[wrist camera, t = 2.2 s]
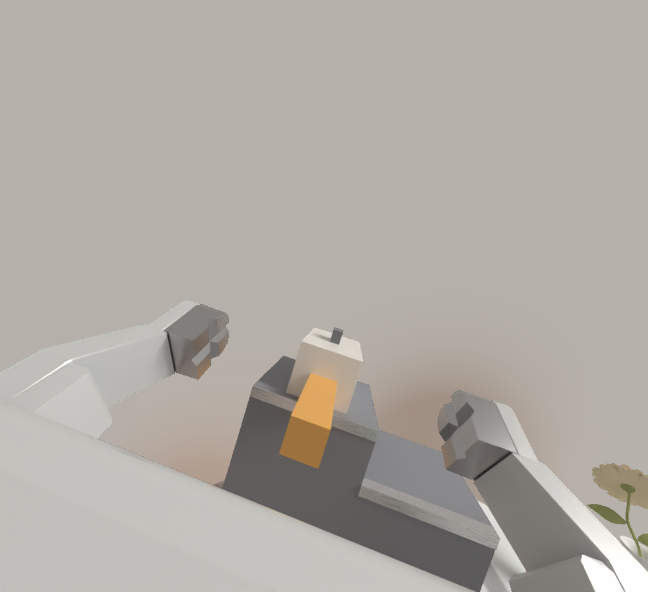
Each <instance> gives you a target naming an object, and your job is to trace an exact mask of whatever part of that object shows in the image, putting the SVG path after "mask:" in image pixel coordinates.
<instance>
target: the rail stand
mask: <svg viewBox="0 0 648 592" xmlns="http://www.w3.org/2000/svg"><path fill="white" fill-rule="evenodd" d="M295 361H296V360H294V359H292V358H289V357H286V356H283V357H282V358H281V359H280V360H279V361H278V362H277V363H276V364H275V365H274V366H273V367H272V368H271V369H270V370H269V371H268V372H267V373H265V374H264V375H263V377H261V378H260V379H259V380H258V381H257V382H256V383H255V384H254V385H253V387H252V390H251V394H250V398H249V401H248V405H247V408H246V411H245V415H244V418H243V421H242V425H241V428H240V432H239V435H238V439H237V442H236V445H235V449H234V452H233V455H232V459H231V462H230V466H229V468H228V472H227V476H226V479H225V482H224V485H223V490H226V491H228V492H231V493H233V494H236V495H238V496H241V497H243V498H246V499H248V500H251V501H253V502H256V503H258V504H260V505H263V506H265V507H268V508H270V509H273V510H275V511H278V512H280V513H283V514H285V515H288V516H290V517H293V518H295V519H297V520H300V521H302V522H305V523H307V524H310V525H312V526H315V527H317V528H320V529H322V530H325V531H327V532H330V533H332V534H334V535H337V536H339V537H342V538H344V539H347V540H349V541H352V542H354V543H357V544H359V545H362V546H364V547H367V548H369V549H371V550H374V551H376V552H379V553H381V554H384V555H386V556H389V557H391V558H394V559H396V560H399V561H401V562H404V563H406V564H408V565H411V566H413V567H416V568H418V569H421V570H423V571H426V572H428V573H431V574H433V575H436V576H438V577H441V578H443V579H445V580H448V581H450V582H453V583H455V584H458V585H460V586H463V587H465V588H468V589H470V590H473V591H475V592H480V590H481V587H482V584H483V582H484V579H485V576H486V573H487V571H488V568H489V565H490V562H491V560H492V557H493V554H494V551H495V550H496V549H497V546H498V543H499V540H500V538H499V536H498V534H497V533H496V531H495V530H494V528H493V526H492V525H491V523H490V521H489V520H488V518H487V516H486V515H485V513H484V512H483V510H482V508H481V507H480V505H479V503H478V502H477V500H476V498H475V497H474V495H473V493H472V492H471V490H470V489H469V487H468V485H467V484H466V482H465V480H464V479H463V477H462V476H461V475H458V474H455V473H453V472H450V471H448V470H446V469H445V464H444V458H443V453H442V452H440V451H437V450H434V449H432V448H429V447H426V446H423V445H421V444H418V443H415V442H412V441H409V440H407V439H404V438H401V437H398V436H395V435H393V434H390V433H387V432H384V431H382V430H379V427H378V423H377V419H376V413H375V409H374V404H373V400H372V395H371V390H370V386H369V385H367V384H364V383H361V382H358V381H357V383H356V386H355V390H354V393H353V396H352V399H351V402H350V405H349V408H348V411H347V414H345V413H342V412H339V411H336V410H333V417H332V424H331V431H330V434H329V437H328V440H327V443H326V446H325V450H324V453H323V456H322V459H321V462H320V465H319V468H318V469H317V468H314V467H312V466H309V465H307V464H304V463H301V462H299V461H296V460H294V459H291V458H288V457H286V456H283V455H281V454H279V452H280V449H281V446H282V443H283V439H284V436H285V433H286V430H287V427H288V423H289V420H290V417H291V414H292V412H293V410H294V408H295V406H296V404H297V401H298V399H299V397H297V396H294V395H292V394H289V393H286V391H287V387H288V384H289V381H290V378H291V374H292V371H293V368H294V365H295Z"/></svg>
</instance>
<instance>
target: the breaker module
mask: <svg viewBox="0 0 648 592" xmlns="http://www.w3.org/2000/svg"><path fill="white" fill-rule="evenodd" d="M342 334H343V330H341V329H338V328H334V330H333V333H330V332H327V331H324V330H321V329H317V328H314V329H313V330H312V331H311V332H310V333H309V334H308V335H307V336H306V337H305V338H304V339H303V340H302V342H301V345H300V348H299V351H298V355H297V358H296V361H295V365H294V368H293V371H292V374H291V378H290V381H289V384H288V387H287V391H286V393H289V394H292V395H294V396H297V397H299V399H298V401H297V404H296V406H295V408H294V410H293V412H292V414H291V417H290V420H289V423H288V427H287V430H286V433H285V436H284V439H283V443H282V446H281V449H280V452H279V454H281V455H283V456H286V457H288V458H291V459H294V460H296V461H299V462H301V463H304V464H307V465H309V466H312V467H314V468H317V469H318V468H319V465H320V462H321V459H322V456H323V453H324V450H325V446H326V443H327V440H328V437H329V434H330V431H331V424H332V417H333V410H336V411H339V412H342V413H345V414H347V411H348V408H349V405H350V402H351V399H352V396H353V393H354V390H355V386H356V383H357V380H358V377H359V374H360V371H361V367H362V364H363V358H362V353H361V348H360V343H359V342H357V341H354V340H351V339H348V338H345V337H342Z"/></svg>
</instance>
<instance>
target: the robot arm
mask: <svg viewBox="0 0 648 592" xmlns="http://www.w3.org/2000/svg"><path fill="white" fill-rule="evenodd" d="M228 322H229V318H228V314H226V313H224V312H222V311H219V310H216V309H213V308H211V307H208V306H205V305H202V304H198V303H196V302H193V301H190V300H186V301H183V302H181V303H180V304H178V305H177V306H175V307H174V308H172V309H171V310H170V311H168V312H167V313H165V314H164V315H162V316H161V317H160V318H158V319H156V320H155V321H154V322H152V323H151V324H149V325H148V326H147V325H144V324H142V325H139V326H134V327H130V328H126V329H122V330H118V331H114V332H110V333H106V334H102V335H98V336H94V337H90V338H86V339H82V340H78V341H74V342H70V343H66V344H62V345H57V346H53V347H49V348H46V349H42V350H40V351H38V352H36V353H34V354H33V355H31V356H29V357H27V358H25V359H24V360H22V361H20V362H18V363H16V364H15V365H13V366H11V367H9V368H7V369H6V370H4V371H2V372H0V592H475V591H473V590H470V589H468V588H465V587H463V586H460V585H458V584H455V583H453V582H450V581H448V580H445V579H443V578H441V577H438V576H436V575H433V574H431V573H428V572H426V571H423V570H421V569H418V568H416V567H413V566H411V565H408V564H406V563H404V562H401V561H399V560H396V559H394V558H391V557H389V556H386V555H384V554H381V553H379V552H376V551H374V550H371V549H369V548H367V547H364V546H362V545H359V544H357V543H354V542H352V541H349V540H347V539H344V538H342V537H339V536H337V535H334V534H332V533H330V532H327V531H325V530H322V529H320V528H317V527H315V526H312V525H310V524H307V523H305V522H302V521H300V520H297V519H295V518H293V517H290V516H288V515H285V514H283V513H280V512H278V511H275V510H273V509H270V508H268V507H265V506H263V505H260V504H258V503H256V502H253V501H251V500H248V499H246V498H243V497H241V496H238V495H236V494H233V493H231V492H228V491H226V490H223V489H221V488H218V487H216V486H214V485H211V484H209V483H206V482H203V481H201V480H199V479H196V478H194V477H191V476H189V475H186V474H184V473H181V472H179V471H177V470H174V469H172V468H169V467H167V466H164V465H162V464H159V463H157V462H154V461H152V460H149V459H147V458H144V457H142V456H140V455H137V454H135V453H132V452H130V451H127V450H125V449H122V448H119V447H117V446H115V445H112V444H110V443H107V442H105V441H103V440H100V439H98V437H99V436H100V435H101V434H102V433H103V432H104V431H105V430H107V429H108V428H109V427H110V426H111V425H112V420H113V419H112V417H111V415H110V413H109V411H108V409H107V407H108V406H110V405H112V404H114V403H116V402H118V401H120V400H122V399H124V398H126V397H128V396H130V395H132V394H134V393H136V392H138V391H140V390H142V389H144V388H146V387H149V386H151V385H152V384H155V383H157V382H158V381H161V380H163V379H165V378H166V377H169V376H171V375H173V374H175V372H176V373H179V374H182V375H186V376H189V377H192V378H195V379H199V378H200V377H201V376H202V375H203V374H204V372H205V371H206V370H207V369H208V368H209V367H210V366H211V359H212V358H214V357H217V356H219V355H220V354H221V353H222V351H223V350H224V348H225V346H226V344H227V342H228V338H229V331H228V329H227V328H226V325H227V323H228ZM451 398H452V402H451V403H448V404H445V405H444V406H443V407H442V409H441V410H440V413H439V416H438V429H439V433H440V435H441V436H442V438H443V439H444V441H445V442H444V444H443V445H442V453H443V458H444V464H445V469H446V470H448V471H450V472H453V473H455V474H458V475H461V476H463V477H466V478H468V479H471V480H473V481H474V484H475V486H476V487H477V489H478V491H479V492H480V494H481V496H482V497H483V499H484V501H485V502H486V504H487V506H488V507H489V509H490V511H491V512H492V514H493V516H494V518H495V519H496V521H497V523H498V524H499V526H500V528H501V529H502V531H503V533H504V534H505V536H506V538H507V539H508V541H509V543H510V544H511V546H512V548H513V549H514V551H515V553H516V554H517V556H518V558H519V559H520V561H521V563H522V564H523V566H524V568H525V569H526V571H527V572H525V573H521V574H518V575H515V576H512V578H511V579H510V580H509V583H510V587H511V590H512V592H648V572H647V571H646V570H645V569H644V568H643V567H642V565H641V564H640V563H639V562H638V561H637V560H636V559H635V558H634V557H633V556H632V555H631V554H630V553H629V552H628V551H627V550H626V549H625V548H624V547H623V546H622V545H621V544H620V543H619V541H618V540H617V539H615V537H614V536H613V535H612V534H611V533H610V532H609V531H608V530H607V529H606V528H605V527H604V526H603V525H602V524H601V523H600V522H599V521H598V520H597V519H596V517H595V516H593V514H592V513H591V512H590V511H589V510H588V509H587V508H586V507H585V506H584V505H583V504H582V503H581V502H580V501H579V500H578V499H577V498H576V497H575V496H574V495H573V493H572V492H571V491H570V490H568V488H567V487H566V486H565V485H564V484H563V483H562V482H561V481H560V480H559V479H558V478H557V477H556V476H555V475H554V474H553V473H552V472H551V471H550V469H549V468H548V467H546V466H545V464H544V463H541V462H538V461H537V459H536V456H535V454H534V452H533V450H532V448H531V446H530V444H529V442H528V440H527V438H526V436H525V434H524V432H523V430H522V428H521V426H520V424H519V421H518V419H517V417H516V415H515V413H514V411H513V410H512V409H511V408H510V407H509V406H508V405H504V404H501V403H498V402H495V401H490V400H488V399H485V398H482V397H479V396H476V395H473V394H470V393H467V392H463V391H460V390H459V391H456V392H455V393H454V394H453V395H452V396H451Z"/></svg>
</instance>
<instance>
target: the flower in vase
mask: <svg viewBox="0 0 648 592" xmlns="http://www.w3.org/2000/svg"><path fill="white" fill-rule="evenodd" d="M592 471H593V473H592V475H593V476H594V477H595V478H594V482H595V483H596V484H598V486H599V487H600V488H602V489H604V490H607V491H608V492H607V493H608V494H609V495H611V496H613V497H615V498H617V499H618V500H620V501H622V502H626V501H627V508H626V521H625V520H624V519H623V518H621V517H620V516H619V515H618V514H617V513H616V512H615V511H613V510H611V509H610V508H608V507H605V506H602V505H597V504H591V505H588V507H590V508H591V509H593V510H594V511H596V512H597V513H598V514H600V515H601V516H602V517H603V518H605V519H606V520H608V521H610V522H612V523H615V524H626V522H627V525H628V528H629V530H630V532H631V534H632V537H633V539H634V540H632V539H630V538H628V537H625V536H619V539H620V541H621V543H622V546H623V547H624V548H625V549H626V550H627V551H628V552H629V553H630V554H631V555H632V556H633V557H634V558H635V559H636V560H637V561H638V562H639V563H640V564H641V565H642V567H643V568H644V569H645V570H646V571H647V572H648V549H647V548H646V547H644V546H643V545H641V544H640V543H638V541H640V542H641V543H643V544H645V545H647V546H648V534H642V535H641V536H639V537H638V541H637V539H636V537H635V535H634V533H633V530H632V528H631V526H630V523H629V510H630V504H631V505H638V506H641V507H643V508H646V509H648V475H644V474H643V472H642V471H640V470H631V468H630V467H629V466H627V465H621V466H620V467H619V466H618V465H616V464H614V463H612V464H606V465H603V464H601V465H600V469H599V468H596V467H594V468H593V469H592Z"/></svg>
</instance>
